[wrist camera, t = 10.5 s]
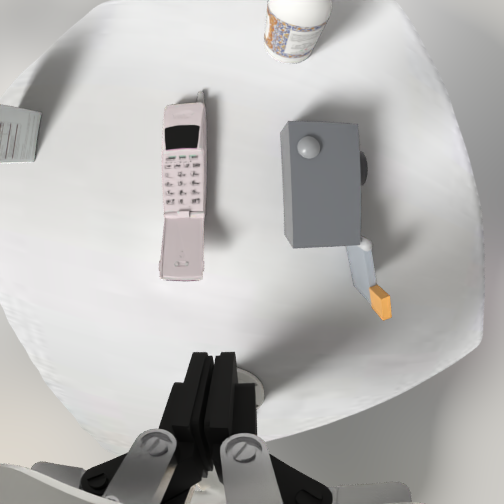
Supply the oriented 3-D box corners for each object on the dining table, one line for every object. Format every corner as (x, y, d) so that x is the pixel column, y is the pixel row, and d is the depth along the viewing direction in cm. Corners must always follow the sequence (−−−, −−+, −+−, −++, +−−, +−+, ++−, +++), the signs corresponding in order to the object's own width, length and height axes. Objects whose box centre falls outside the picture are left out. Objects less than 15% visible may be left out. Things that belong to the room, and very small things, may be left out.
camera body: (350, 231, 39) (374, 245, 30) (284, 234, 39) (293, 249, 30) (348, 134, 35) (373, 124, 27) (280, 133, 35) (288, 120, 27)
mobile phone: (158, 281, 34) (155, 84, 28) (170, 267, 40) (167, 96, 34) (204, 282, 34) (203, 79, 28) (210, 267, 40) (209, 93, 34)
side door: (349, 226, 38) (383, 244, 27) (360, 283, 41) (392, 317, 30) (340, 229, 38) (372, 248, 28) (352, 286, 41) (382, 321, 30)
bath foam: (266, 25, 31) (276, -65, 11) (312, 33, 31) (351, -49, 11) (260, 61, 32) (268, -27, 13) (308, 69, 33) (354, -8, 13)
